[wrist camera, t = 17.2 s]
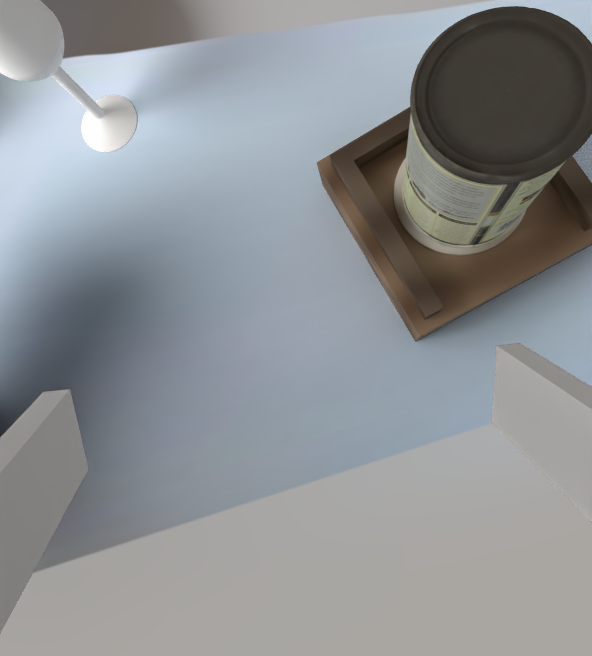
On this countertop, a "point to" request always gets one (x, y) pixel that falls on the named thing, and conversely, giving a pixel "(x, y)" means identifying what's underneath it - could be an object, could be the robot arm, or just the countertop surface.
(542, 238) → the display stand
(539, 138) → the coffee can
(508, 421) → the robot arm
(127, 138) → the champagne flute
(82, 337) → the countertop surface
